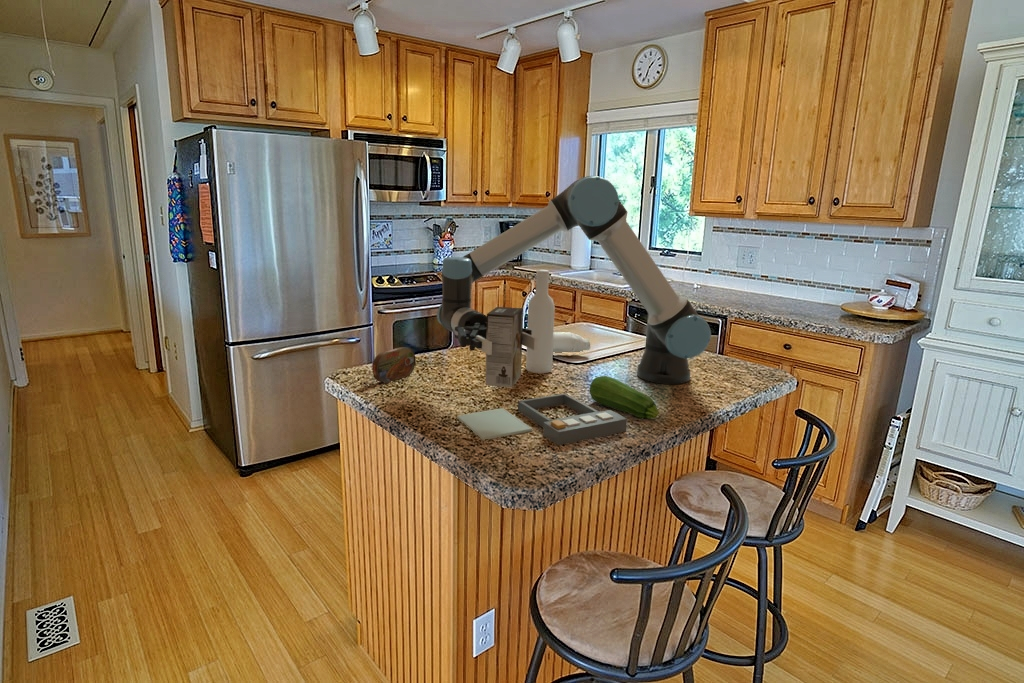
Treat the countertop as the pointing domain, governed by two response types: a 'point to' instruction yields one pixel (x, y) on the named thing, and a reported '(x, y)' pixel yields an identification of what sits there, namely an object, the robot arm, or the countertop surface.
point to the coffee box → (504, 346)
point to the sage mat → (494, 423)
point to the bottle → (541, 326)
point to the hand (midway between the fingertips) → (513, 346)
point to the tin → (393, 364)
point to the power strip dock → (572, 420)
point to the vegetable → (622, 397)
